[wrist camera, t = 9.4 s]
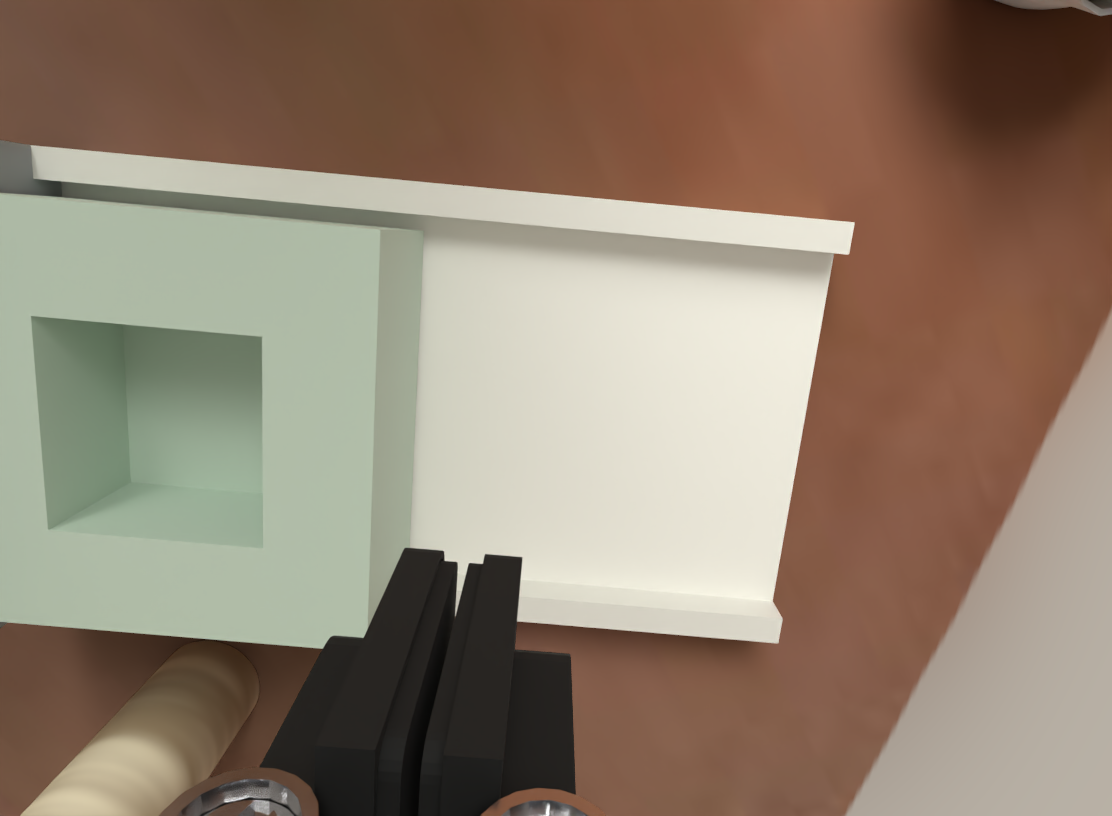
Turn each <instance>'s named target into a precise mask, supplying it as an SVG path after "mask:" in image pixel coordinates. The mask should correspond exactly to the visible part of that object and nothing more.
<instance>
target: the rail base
mask: <svg viewBox="0 0 1112 816" xmlns="http://www.w3.org/2000/svg"><path fill="white" fill-rule="evenodd" d="M0 193H12V194H25V195H39V196H52V197H65V198H76V199H87V200H97V201H108V202H119V203H130V204H141V205H151V206H162V207H173V208H184V209H194V210H205V211H216V212H227V213H238V214H248V215H259V216H270V217H281V218H291V219H302V220H313V221H324V222H335V223H345V224H356V225H367V226H378V227H388V228H399V229H410V230H421V231H424V244H423V266H422V287H421V309H420V331H419V352H418V374H417V396H416V418H415V439H414V461H413V483H412V504H411V526H410V548H417V549H430V550H442V551H444V557H445V561H452V562H457V563H458V574H457V591H456V607H455V616H456V613H457V609H458V605H459V601H460V597H461V593H462V589H463V584H464V580H465V576H466V572H467V568H468V565H469V563H477V564H483V561H484V556H485V554H491V555H503V556H515V557H522V570H521V581H520V593H519V605H518V616H517V621H519V622H531V623H543V624H555V625H567V626H579V627H590V628H602V629H614V630H626V631H638V632H650V633H661V634H673V635H685V636H697V637H709V638H721V639H732V640H744V641H756V642H768V643H778V642H779V636H780V631H781V625H782V620H783V618H782V617H781V615H780V613H779V612H778V610H777V608H776V606H775V605H774V603H773V595H774V590H775V584H776V578H777V573H778V567H779V561H780V556H781V550H782V544H783V539H784V533H785V527H786V522H787V516H788V510H789V505H790V499H791V493H792V488H793V482H794V477H795V471H796V465H797V460H798V454H799V448H800V443H801V437H802V431H803V426H804V420H805V414H806V409H807V403H808V397H809V392H810V386H811V380H812V375H813V369H814V363H815V358H816V352H817V347H818V341H819V335H820V330H821V324H822V318H823V313H824V307H825V301H826V296H827V290H828V284H829V279H830V273H831V267H832V262H833V256H834V254H848V255H849V251H850V246H851V240H852V235H853V229H854V224H855V223H854V222H844V221H833V220H822V219H812V218H801V217H790V216H780V215H769V214H758V213H748V212H737V211H726V210H716V209H705V208H694V207H684V206H673V205H662V204H652V203H641V202H630V201H620V200H609V199H598V198H588V197H577V196H566V195H556V194H545V193H534V192H524V191H513V190H502V189H492V188H481V187H471V186H460V185H449V184H439V183H428V182H417V181H407V180H396V179H385V178H375V177H364V176H353V175H343V174H332V173H321V172H311V171H300V170H289V169H279V168H268V167H257V166H247V165H236V164H225V163H215V162H204V161H193V160H183V159H172V158H161V157H151V156H140V155H129V154H119V153H108V152H97V151H87V150H76V149H65V148H55V147H44V146H33V145H26V144H20V143H14V142H8V141H3V140H0ZM7 623H8V622H0V628H1V627H2V626H4V625H5V624H7Z"/></svg>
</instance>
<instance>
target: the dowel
mask: <svg viewBox="0 0 1112 816" xmlns="http://www.w3.org/2000/svg"><path fill="white" fill-rule="evenodd" d="M259 691H260V684H259V679H258V675H257V672H256V670H255V668H254V667H253V665H252V664H251V662H250V661H249V660H248V659H247V657H245V656H244V655H243V654H242V653H241V652H239V651H238V650H237V649H235V648H233V647H231V646H229V645H227V644H224V643H221V642H216V641H196V642H192V643H189V644H186V645H184V646H182V647H181V648H179V649H178V650H176V651H175V652H174V653H173V654H172V655H171V656H170V657H169V658H168V659H167V660H166V661H165V662H164V663H163V665H162V666H161V667H160V668H159V669H158V670H157V671H156V672H155V673H154V674H153V675H152V676H151V677H150V678H149V679H148V680H147V682H146V683H145V684H144V685H143V686H142V687H141V688H140V689H139V690H138V691H137V692H136V693H135V694H134V695H133V696H132V697H131V699H130V700H129V701H128V702H127V703H126V704H125V705H124V706H123V707H122V708H121V709H120V710H119V711H118V712H117V713H116V714H115V715H114V717H113V718H112V719H111V720H110V721H109V722H108V723H107V724H106V725H105V726H104V727H103V728H102V729H101V730H100V731H99V732H98V734H97V735H96V736H95V737H94V738H93V739H92V740H91V741H90V742H89V743H88V744H87V745H86V746H85V747H84V748H83V749H82V751H81V752H80V753H79V754H78V755H77V756H76V757H75V758H74V759H73V760H72V761H71V762H70V763H69V764H68V765H67V766H66V768H65V769H64V770H63V771H62V772H61V773H60V774H59V775H58V776H57V777H56V778H55V779H54V780H53V781H52V782H51V783H50V785H49V786H48V787H47V788H46V789H45V790H44V791H43V792H42V793H41V794H40V795H39V796H38V797H37V798H36V799H35V800H34V802H33V803H32V804H31V805H30V806H29V807H28V808H27V809H26V810H25V811H24V812H23V813H22V814H21V815H20V816H159V815H160V814H161V812H162V811H163V810H164V809H165V808H167V807H168V806H169V805H170V804H171V803H172V802H173V801H174V800H175V799H176V798H177V797H178V796H180V795H181V794H182V793H183V792H185V791H187V790H188V789H190V788H192V787H193V786H195V785H197V784H199V783H200V782H202V781H204V780H206V779H208V777H209V776H210V774H211V773H212V771H213V770H214V768H215V767H216V765H217V764H218V762H219V761H220V759H221V758H222V756H223V755H224V753H225V751H226V750H227V748H228V747H229V745H230V744H231V742H232V741H233V739H234V738H235V736H236V735H237V733H238V732H239V730H240V728H241V727H242V725H243V724H244V722H245V721H246V719H247V718H248V716H249V715H250V713H251V712H252V710H253V708H254V707H255V705H256V703H257V701H258V697H259Z"/></svg>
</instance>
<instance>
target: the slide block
mask: <svg viewBox="0 0 1112 816" xmlns="http://www.w3.org/2000/svg"><path fill="white" fill-rule="evenodd" d="M423 244H424V231H421V230H410V229H399V228H388V227H378V226H367V225H356V224H345V223H335V222H324V221H313V220H302V219H291V218H281V217H270V216H259V215H248V214H238V213H227V212H216V211H205V210H194V209H184V208H173V207H162V206H151V205H141V204H130V203H119V202H108V201H97V200H87V199H76V198H65V197H52V196H39V195H25V194H12V193H0V622H9V623H21V624H33V625H45V626H57V627H69V628H81V629H93V630H105V631H117V632H129V633H141V634H153V635H165V636H177V637H189V638H201V639H212V640H224V641H236V642H248V643H260V644H272V645H284V646H296V647H308V648H320V649H323V648H324V646H325V644H326V642H327V641H328V640H329V638H330V637H332V636H334V635H335V636H348V637H361V638H364V636H365V634H366V631H367V629H368V627H369V625H370V623H371V620H372V618H373V616H374V614H375V612H376V609H377V607H378V605H379V603H380V600H381V598H382V596H383V594H384V592H385V589H386V587H387V585H388V583H389V581H390V578H391V576H392V574H393V572H394V570H395V567H396V565H397V563H398V561H399V559H400V556H401V554H402V552H403V550H404V548H410V526H411V504H412V483H413V461H414V439H415V418H416V396H417V374H418V352H419V331H420V309H421V287H422V266H423Z"/></svg>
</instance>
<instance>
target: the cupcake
mask: <svg viewBox="0 0 1112 816" xmlns="http://www.w3.org/2000/svg"><path fill="white" fill-rule="evenodd" d="M995 1H998V2H1001V3H1004V4H1006V5H1010V6H1013V7H1017V8H1024V9H1040V10H1046V9H1056V8H1067V7H1074V8H1077V9H1080V10H1083V11H1086V12H1089V13H1092V14H1095V15H1098V16H1104V15H1110V14H1112V0H995Z"/></svg>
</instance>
